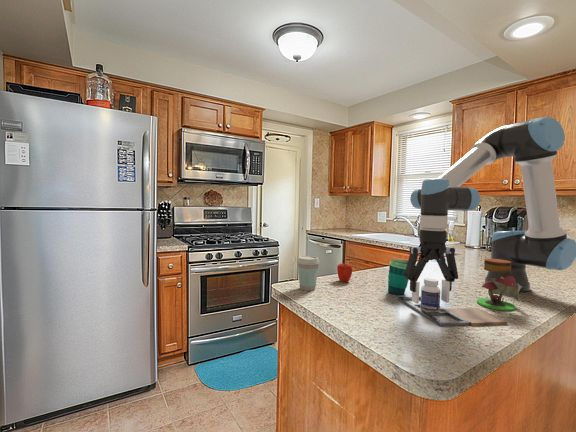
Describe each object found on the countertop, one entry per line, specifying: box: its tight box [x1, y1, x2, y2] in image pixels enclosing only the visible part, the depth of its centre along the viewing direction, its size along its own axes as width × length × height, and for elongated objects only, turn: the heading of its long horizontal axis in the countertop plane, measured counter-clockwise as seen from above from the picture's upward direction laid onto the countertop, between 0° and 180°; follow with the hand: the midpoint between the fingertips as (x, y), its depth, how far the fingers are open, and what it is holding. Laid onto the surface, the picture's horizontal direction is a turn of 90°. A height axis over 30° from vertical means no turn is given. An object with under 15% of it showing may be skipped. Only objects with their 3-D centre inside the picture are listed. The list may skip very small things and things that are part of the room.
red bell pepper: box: [336, 263, 353, 283], centre depth 127 cm, size 6×6×8 cm
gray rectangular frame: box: [397, 295, 471, 327], centre depth 93 cm, size 9×23×1 cm, turn 8°
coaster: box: [445, 307, 508, 327], centre depth 89 cm, size 11×11×1 cm
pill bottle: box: [419, 277, 441, 312], centre depth 93 cm, size 5×5×10 cm
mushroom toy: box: [476, 258, 522, 312], centre depth 99 cm, size 12×13×15 cm
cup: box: [387, 258, 410, 296], centre depth 112 cm, size 8×8×12 cm
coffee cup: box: [296, 255, 320, 292], centre depth 115 cm, size 9×8×12 cm
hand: (430, 301), depth 93 cm, fingers open, 9 cm apart
